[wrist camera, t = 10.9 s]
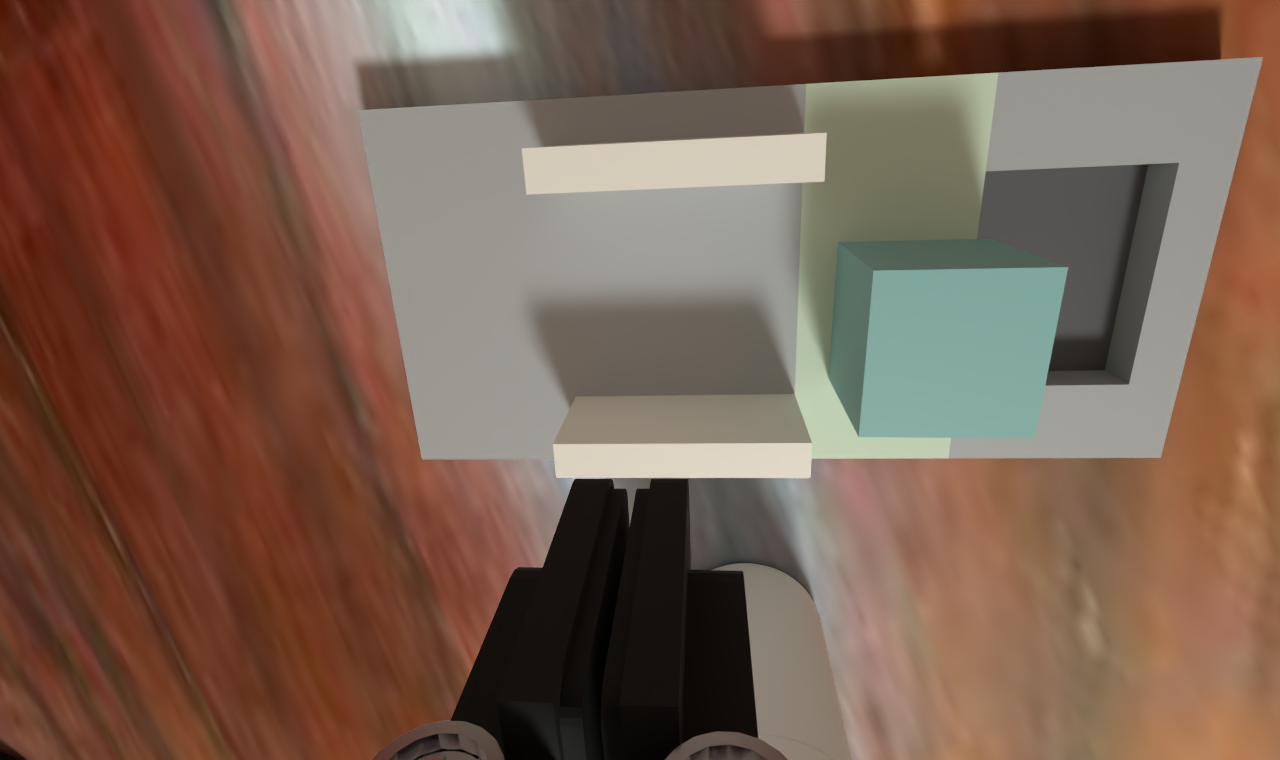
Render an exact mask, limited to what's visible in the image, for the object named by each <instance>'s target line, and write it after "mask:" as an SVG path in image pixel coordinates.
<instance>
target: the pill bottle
mask: <svg viewBox="0 0 1280 760" xmlns="http://www.w3.org/2000/svg"><path fill="white" fill-rule="evenodd" d="M713 570H725V571H743V574H744V583H745V594H746V605H747V616H748V628H749V639H750V650H751V661H752V672H753V683H754V694H755V705H756V716H757V728H758V739H761V740H763V741H764V742H766V743H767V744H769V745H771V746H772V747H774V748H775V749H777V750H778V751H780V752H781V753H782V754H783V755H784V756H785V757H786V758H787V759H788V760H852V758H851V753H850V749H849V745H848V740H847V736H846V731H845V727H844V722H843V718H842V714H841V709H840V705H839V700H838V696H837V691H836V687H835V683H834V678H833V674H832V669H831V665H830V660H829V656H828V652H827V647H826V643H825V638H824V634H823V629H822V625H821V621H820V617H819V614H818V612H817V609H816V606H815V604H814V602H813V600H812V598H811V597H810V595H809V594H808V592H807V591H806V590H805V589H804V588H803V587H802V586H801V585H800V584H799V583H798V582H797V581H796V580H795V579H793V578H792V577H790V576H789V575H787V574H785V573H784V572H782V571H779V570H777V569H775V568H772V567H769V566H765V565H760V564H752V563H738V564H730V565H725V566H721V567H718V568H715V569H713Z"/></svg>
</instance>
